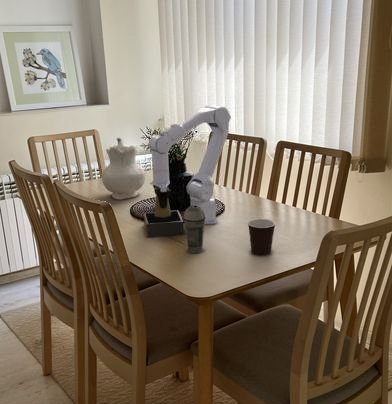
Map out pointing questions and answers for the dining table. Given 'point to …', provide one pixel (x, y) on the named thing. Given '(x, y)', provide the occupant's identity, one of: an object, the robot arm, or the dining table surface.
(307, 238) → the dining table surface
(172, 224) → the bin
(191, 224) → the beverage cup
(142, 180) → the ceramic pitcher
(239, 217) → the dining table surface
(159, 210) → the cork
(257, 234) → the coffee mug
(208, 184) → the robot arm
